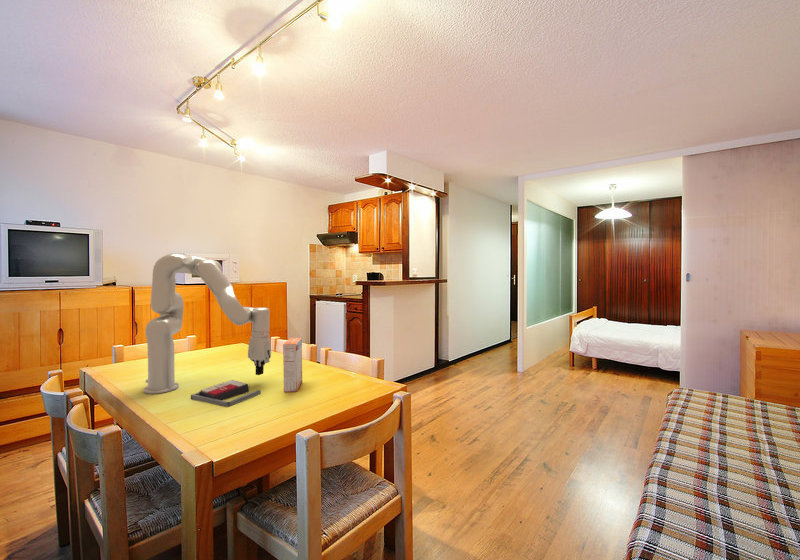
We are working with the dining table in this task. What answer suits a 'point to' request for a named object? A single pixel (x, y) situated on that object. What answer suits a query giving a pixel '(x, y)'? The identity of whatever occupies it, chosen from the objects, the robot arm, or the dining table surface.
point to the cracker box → (292, 364)
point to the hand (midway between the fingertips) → (259, 374)
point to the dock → (221, 402)
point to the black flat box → (225, 390)
